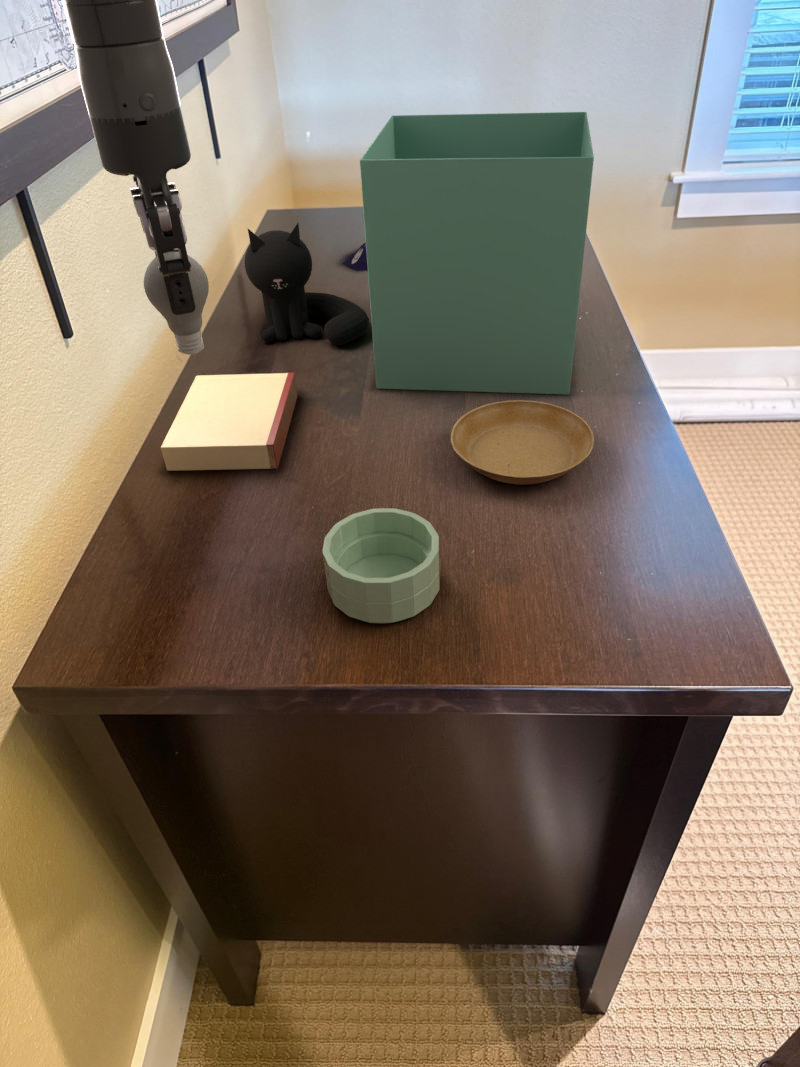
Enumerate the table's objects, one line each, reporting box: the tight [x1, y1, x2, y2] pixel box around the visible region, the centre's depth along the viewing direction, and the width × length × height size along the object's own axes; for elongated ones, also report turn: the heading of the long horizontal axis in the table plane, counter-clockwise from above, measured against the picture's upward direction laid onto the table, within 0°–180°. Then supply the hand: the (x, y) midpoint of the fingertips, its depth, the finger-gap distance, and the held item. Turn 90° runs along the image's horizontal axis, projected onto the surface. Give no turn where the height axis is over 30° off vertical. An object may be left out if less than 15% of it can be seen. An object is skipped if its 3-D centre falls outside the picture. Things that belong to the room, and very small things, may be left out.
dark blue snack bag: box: [342, 241, 368, 272], centre depth 130 cm, size 9×15×4 cm, turn 126°
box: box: [359, 111, 595, 396], centre depth 93 cm, size 23×21×26 cm
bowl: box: [321, 507, 441, 624], centre depth 66 cm, size 10×10×5 cm
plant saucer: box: [450, 399, 595, 486], centre depth 81 cm, size 15×15×3 cm
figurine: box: [244, 222, 370, 346], centre depth 104 cm, size 16×14×15 cm
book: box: [160, 371, 299, 472], centre depth 88 cm, size 16×12×3 cm
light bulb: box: [143, 252, 210, 356], centre depth 75 cm, size 6×6×10 cm
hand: (179, 299), depth 75 cm, fingers closed on light bulb, 6 cm apart
